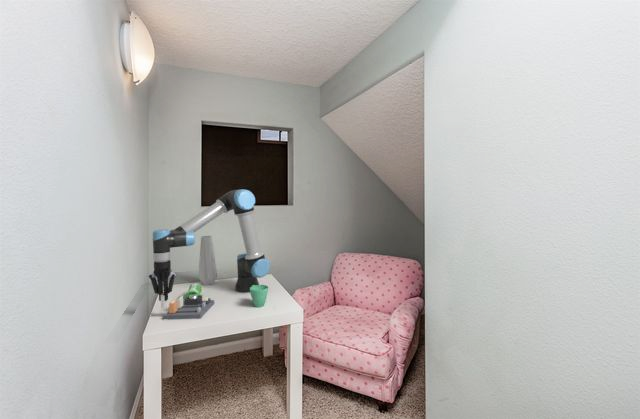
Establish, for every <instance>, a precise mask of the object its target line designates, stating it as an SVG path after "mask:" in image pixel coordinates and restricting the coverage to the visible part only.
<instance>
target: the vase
mask: <svg viewBox="0 0 640 419" xmlns="http://www.w3.org/2000/svg"><path fill="white" fill-rule="evenodd" d="M199 246H200V249H199V262H198V279H199V281H200V282H201V284H202V285H203V286H209V285H213V284H214V283H215V281H216V279H217V278H218V271H217V270H218V269H217V263H216V256H215V248H214V244H213V236H212V235H204V236H200V245H199Z"/></svg>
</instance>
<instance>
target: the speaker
mask: <svg viewBox="0 0 640 419" xmlns="http://www.w3.org/2000/svg"><path fill="white" fill-rule="evenodd" d="M201 292H202V286H201V285H200V284H199V283H192V284H190V286H189V288H188V291H187V292H186V294H185V299H186V298H187V297H189V295H191V294H198V295H201Z"/></svg>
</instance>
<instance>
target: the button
mask: <svg viewBox="0 0 640 419" xmlns="http://www.w3.org/2000/svg"><path fill="white" fill-rule="evenodd" d="M197 298H198V294H191V295H189V299H197Z"/></svg>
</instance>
